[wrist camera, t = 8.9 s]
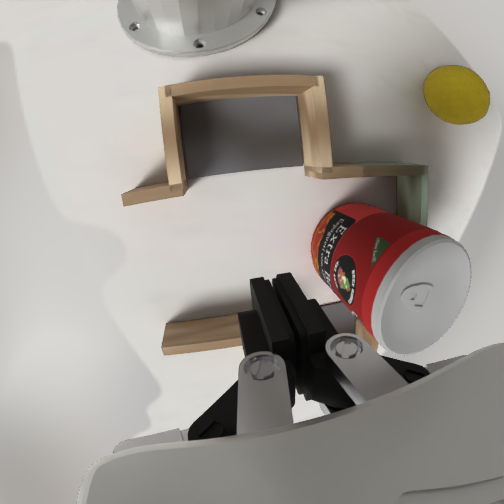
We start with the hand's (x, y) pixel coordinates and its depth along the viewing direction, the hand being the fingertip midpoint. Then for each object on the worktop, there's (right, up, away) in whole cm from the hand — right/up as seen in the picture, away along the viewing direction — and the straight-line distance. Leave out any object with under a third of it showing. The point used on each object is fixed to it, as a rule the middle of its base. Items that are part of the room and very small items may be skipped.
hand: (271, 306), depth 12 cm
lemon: (+16, +17, +9) cm, 25 cm away
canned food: (+8, +3, +12) cm, 15 cm away
